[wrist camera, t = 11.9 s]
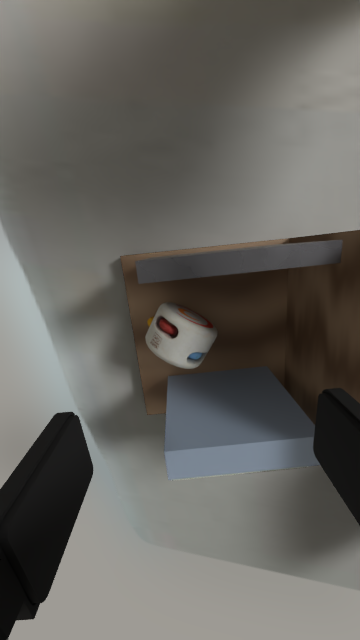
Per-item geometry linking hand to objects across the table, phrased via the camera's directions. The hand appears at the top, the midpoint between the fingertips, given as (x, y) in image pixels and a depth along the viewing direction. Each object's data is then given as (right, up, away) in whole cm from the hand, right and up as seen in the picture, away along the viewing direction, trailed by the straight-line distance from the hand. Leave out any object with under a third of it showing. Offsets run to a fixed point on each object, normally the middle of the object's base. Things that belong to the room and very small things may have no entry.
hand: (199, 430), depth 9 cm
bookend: (+2, +10, +13) cm, 17 cm away
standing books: (+4, -4, +17) cm, 18 cm away
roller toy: (-1, +4, +15) cm, 15 cm away
